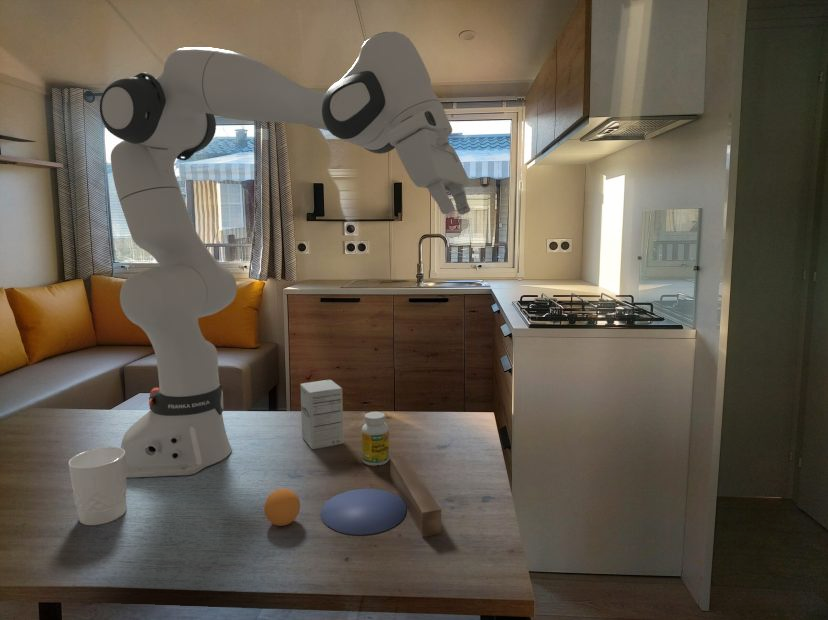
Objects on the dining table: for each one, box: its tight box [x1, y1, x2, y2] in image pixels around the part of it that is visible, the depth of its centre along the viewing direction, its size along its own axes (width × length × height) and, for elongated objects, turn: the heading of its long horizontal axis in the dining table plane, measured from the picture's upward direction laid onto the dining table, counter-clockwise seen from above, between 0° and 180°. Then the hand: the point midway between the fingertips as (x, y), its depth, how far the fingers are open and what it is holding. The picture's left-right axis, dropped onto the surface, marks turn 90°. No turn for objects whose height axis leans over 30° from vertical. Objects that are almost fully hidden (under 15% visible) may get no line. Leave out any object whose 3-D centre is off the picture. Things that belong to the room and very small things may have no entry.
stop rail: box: [389, 455, 442, 538], centre depth 90 cm, size 3×20×4 cm, turn 17°
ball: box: [263, 488, 301, 527], centre depth 84 cm, size 6×6×6 cm
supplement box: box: [300, 379, 344, 450], centre depth 116 cm, size 7×7×13 cm
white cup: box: [67, 446, 128, 526], centre depth 87 cm, size 8×8×10 cm
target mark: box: [320, 488, 407, 536], centre depth 88 cm, size 14×14×1 cm
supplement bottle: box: [361, 411, 390, 467], centre depth 106 cm, size 5×5×10 cm
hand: (457, 212), depth 85 cm, fingers open, 8 cm apart
